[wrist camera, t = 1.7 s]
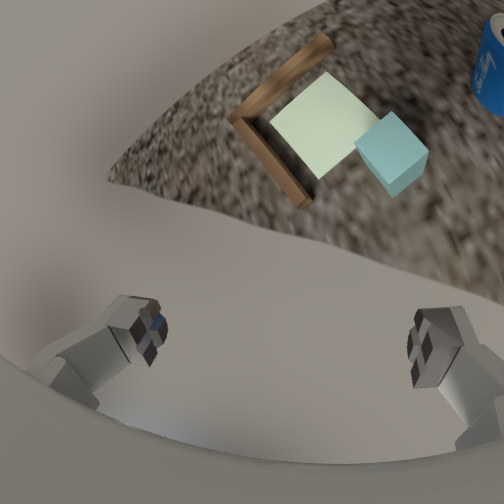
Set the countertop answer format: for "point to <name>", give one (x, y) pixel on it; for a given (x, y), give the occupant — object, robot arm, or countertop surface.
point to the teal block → (392, 153)
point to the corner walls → (264, 99)
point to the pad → (324, 123)
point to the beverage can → (491, 67)
